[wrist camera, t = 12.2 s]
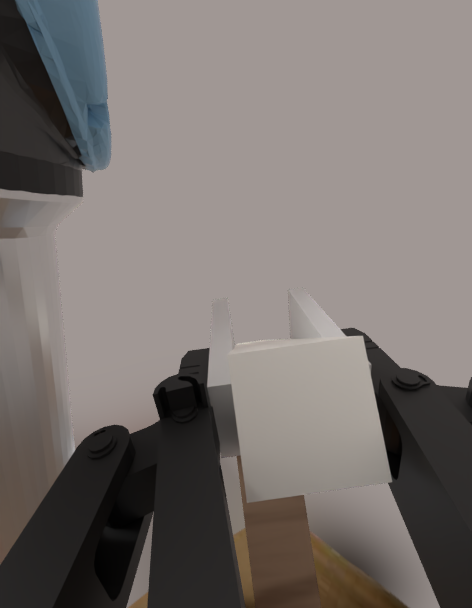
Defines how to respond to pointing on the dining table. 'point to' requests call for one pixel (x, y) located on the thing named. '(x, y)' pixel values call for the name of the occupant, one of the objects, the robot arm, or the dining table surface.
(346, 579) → the dining table surface
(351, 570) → the dining table surface
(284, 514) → the pedestal
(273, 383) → the bar
